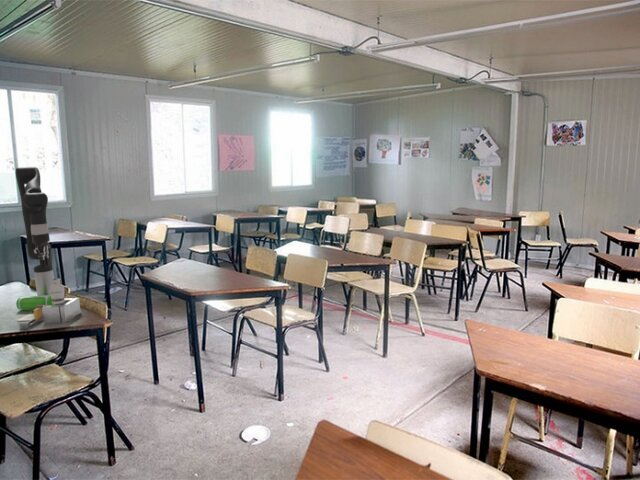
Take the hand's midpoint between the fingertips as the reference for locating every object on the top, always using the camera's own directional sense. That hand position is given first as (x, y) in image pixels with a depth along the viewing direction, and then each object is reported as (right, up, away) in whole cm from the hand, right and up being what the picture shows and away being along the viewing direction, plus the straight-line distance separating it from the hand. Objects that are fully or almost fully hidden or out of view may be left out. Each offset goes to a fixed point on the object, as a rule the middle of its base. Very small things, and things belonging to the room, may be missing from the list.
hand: (44, 266), depth 241 cm
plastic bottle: (+10, -26, -4) cm, 28 cm away
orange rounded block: (+1, -26, -5) cm, 27 cm away
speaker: (-11, -24, +13) cm, 30 cm away
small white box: (+8, -26, -7) cm, 29 cm away
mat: (-6, -26, -2) cm, 27 cm away
